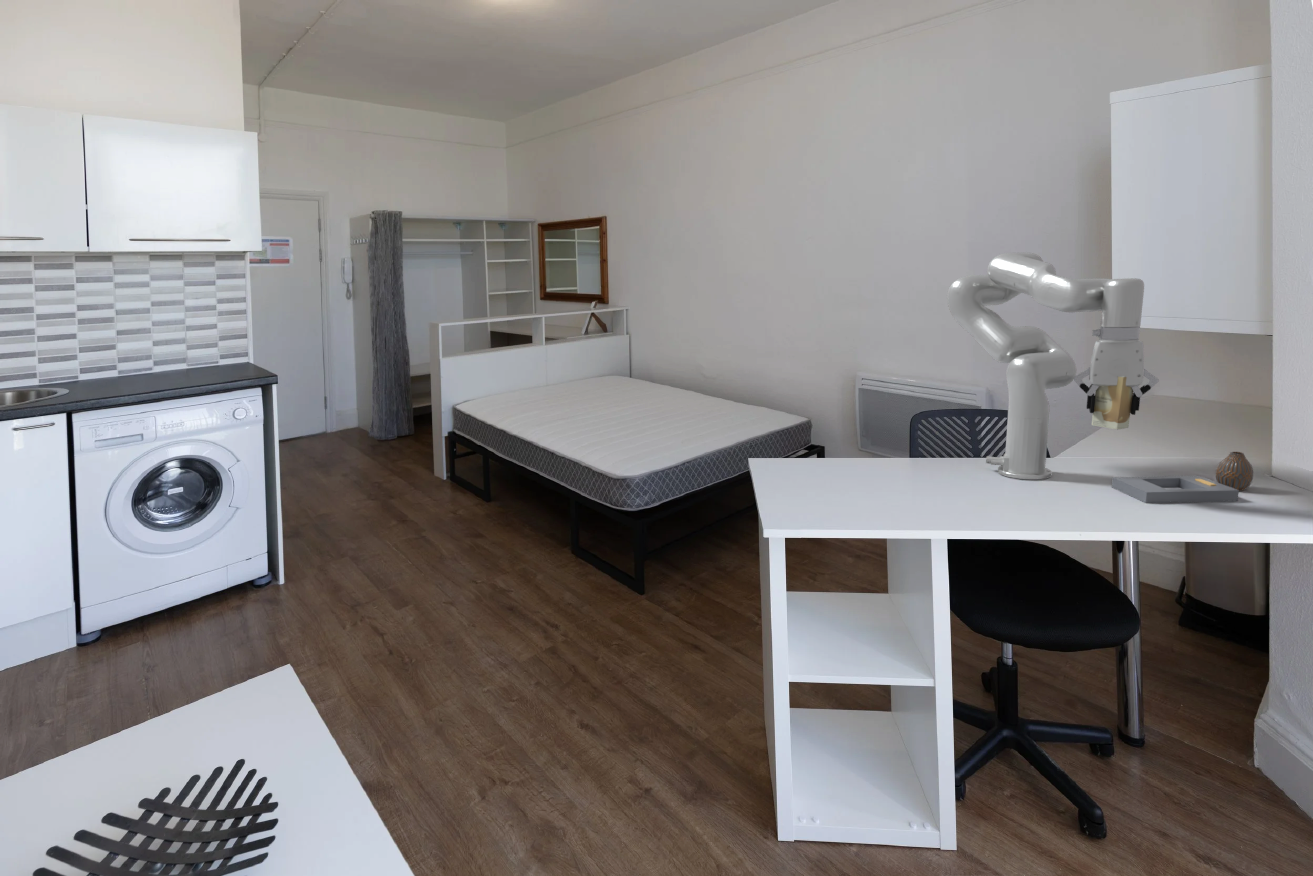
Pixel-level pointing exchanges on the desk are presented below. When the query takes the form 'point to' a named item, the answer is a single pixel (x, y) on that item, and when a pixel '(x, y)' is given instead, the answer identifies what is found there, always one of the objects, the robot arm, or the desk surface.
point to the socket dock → (1174, 489)
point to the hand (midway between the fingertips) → (1111, 412)
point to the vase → (1235, 471)
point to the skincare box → (1113, 405)
